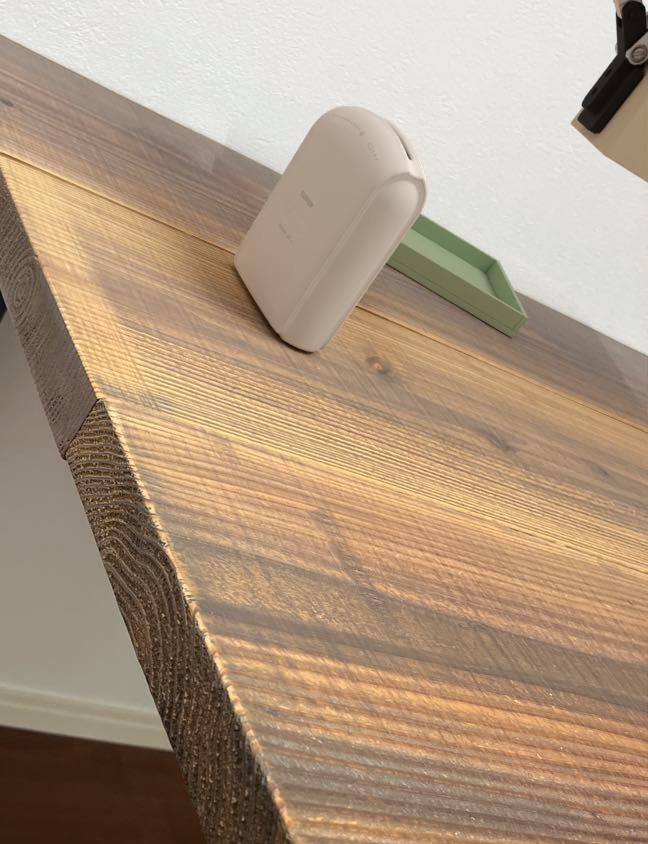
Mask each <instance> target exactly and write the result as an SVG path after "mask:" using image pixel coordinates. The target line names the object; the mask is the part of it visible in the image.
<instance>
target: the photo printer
mask: <svg viewBox="0 0 648 844" xmlns="http://www.w3.org/2000/svg"><path fill="white" fill-rule="evenodd" d="M427 198H428V182H427V177H426V173H425V169H424V167H423V163H422V160H421V159H420V157H419V154H418V152H417V150H416V149H415V146H414V145H413V144H412V142H411V141H410V139H409V137H408V136H407V135H406V134H405V133H404V131H403V130H401V128H400V127H398V126H397V125H396V124H395V123H393V122H392V121H391V120H389V119H387V118H386V117H383V116H381V115H378V114H377V113H376V112H374V111H372V110H369V109H367V108H365V107H361V106H355V105H340V106H336V107H334V108H331V109H329V110H327V111H326V112H325V113H323V114H322V115H320V116H319V118H318V119H316V121H314V123H313V124H312V126H311V127H310V129H309V130H308V132H307V133H306V135H305V137H304V139H303V140H302V142H301V143H300V145H299V147H298V148H297V150H296V151H295V153H294V155H293V156H292V158H291V160H290V161H289V163H288V164H287V166H286V167H285V169H284V171H283V172H282V175H281V176H280V178H279V179H278V181H277V183H275V186H274V188H273V189H272V191H271V193H270V194H269V196H268V198H267V199H266V201H265V202H264V204H263V206H262V207H261V209H260V211H259V213H258V214H257V216H256V218H255V219H254V221H253V222H252V224H251V226H250V227H249V229H248V231H247V232H246V234H245V236H244V237H243V238H242V241H241V243H240V244H239V246H238V248H237V250H236V252H235V254H234V256H233V264H234V267H235V269H236V271H237V273H238V274H239V277H240V278H241V280H242V282H243V283H244V285H245V287H246V288H247V290H248V292H249V294H250V295H251V297H252V298H253V300H254V301H255V303H256V305H257V307H258V308H259V310H260V311H261V312H262V314H263V316H264V317H265V319H266V320H267V321H268V323H269V325H270V326H271V327H272V329H273V330H274V331H275V333H276V334H278V335H279V337H280V338H281V340H282V341H284V342H286V343H287V344H289V345H291V346H293V347H295V348H297V349H299V350H302V351H305V352H308V353H309V352H311V353H315V352H317V351H318V350H321V351H322V350H325V349H326V348H327V347H328V345H329V344H330V343H331V342H332V341H333V339H334V338H335V337H336V335H337V334H338V333H339V331H340V330H341V328H342V327H343V326H344V324H345V322H346V321H347V319H348V318H349V317H350V315H351V313H352V312H353V311H354V309H355V308H356V306H357V305H358V304H359V302H360V300H361V299H362V298H363V296H364V295H365V294H366V292H367V291H368V290H369V288H370V287H371V285H372V284H373V282H374V281H375V280H376V278H377V277H378V275H379V274H380V273H381V270H382V269H383V268H384V267H385V265H387V264H386V262H387V261H388V259H389V258H390V257H391V255H392V254H393V252H394V251H395V249H396V248H397V247H398V245H399V244H400V242H401V241H402V239H403V238H404V237H405V235H406V234H407V232H408V231H409V229H410V228H411V227H412V225H413V224H414V222H415V221H416V220H417V218H418V217H419V215H420V213H421V214H422V212H423V209H424V208H425V205H426V201H427Z"/></svg>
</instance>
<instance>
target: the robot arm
mask: <svg viewBox="0 0 648 844" xmlns="http://www.w3.org/2000/svg"><path fill="white" fill-rule="evenodd" d="M643 2H644V1H643V0H612V3H613V4H614V8H615V29H616V30H615V31H616V43H615V45H614V52H615V54H616V55H615V56H614V58H613V59H612V60H611V62H610V63H609V64H608V66H607V67H606V69H605V70H604V71H603V72H602V74H601V75H600V76H599V78H598V79H597V80H596V81H595V83H594V84H593V85H592V87H591V88H590V89H589V91H588V92H587V93H586V95H585V96H584V98H583V99H582V101H581V103H580V104H581V108H582V107H583V108H584V109H583V111H582V112H581V113H580V115H579V116H578V119H577V120H578V121H579V122H580V123H581V124H582V125H583V126H584V127H585V128H586V129H587V130H589V131H590V132H592V133H594V134H596V133H600V132H601V131H602V130H603V129H604V128H605V126H606V125H607V124H608V123H609V121H610V120H611V119H612V117H613V116H614V115H615V114H616V112H617V111H618V110H619V108H620V107H621V106H622V105H623V103H624V102H625V101H626V99H627V98H628V97H629V96H630V94H631V93H632V92H633V90H634V89H635V88H636V87H637V85H638V84H639V83H640V81H641V80H642V79H643V77H644V73H645V72H643V71H642V70H641V69H642V68H643V67H644V65H645V64H646V63H647V61H648V11H647V9H646V6H645V4H644V3H643Z"/></svg>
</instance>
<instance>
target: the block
mask: <svg viewBox="0 0 648 844" xmlns="http://www.w3.org/2000/svg"><path fill="white" fill-rule="evenodd" d="M641 70H642V71H643V72H645V73H644V77H643V79H642V80H641V81H640V83H639V84H638V85H637V87H636V88H635V89H634V90H633V92H632V93H631V94H630V96H629V97H628V98H627V99H626V101H625V102H624V103H623V105H622V106H621V107H620V108H619V110H618V111H617V112H616V114H615V115H614V116H613V117H612V119H611V120H610V121H609V123H608V124H607V125H606V126H605V128H604V129H603V130H602V131H601V132H600V133H596V134H594V133H592V132H590V131H589V130H587V129H586V128H585V127H584V126H583V125H582V124H581V123H580V122H579V121H578V120H577V119H578V116H579V115H580V113H581V112H582V111H583V109H584V108H583V107H582V106H581V108H580V110H579V111H578V113H576V115H575V116H574V117H573V119H572V120H571V121H570V125H571V126H572V127H573V128H574V129H576V131H578V133H579V134H581V136H582V137H584V138H585V139H586V140H587V141H588V142H589V143H590V144H591V145H593V147H594V148H595V149H596V150H598V152H600V153H601V154H602V155H603V156H604V157H606V158H608V159H609V160H611V161H613V162H614V163H616V164H617V165H619V166H620V167H622V168H624V169H625V170H627V171H628V172H630V173H631V174H633V175H635V176H636V177H638V178H639V179H641V180H643V181H645V182H646V183H647V184H648V61H647V63H646V64H645V65H644V67H643V68H642V69H641Z"/></svg>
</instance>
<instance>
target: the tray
mask: <svg viewBox="0 0 648 844" xmlns="http://www.w3.org/2000/svg"><path fill="white" fill-rule="evenodd" d="M385 265H388V266H390V267H391V268H393V269H395V270H396V271H398V272H399V273H402V274H403V275H405V277H408V278H410V279H411V280H413V281H415V282H416V283H418V284H419V285H421V286H423V287H424V288H426V289H428V290H430V291H431V292H433V293H435V294H436V295H439V296H440V297H441V298H444V299H445V300H446V301H448V302H450V303H452V304H454V305H455V306H457V307H459V308H460V309H462V310H463V311H465V312H467V313H469V314H470V315H472V316H473V317H476V318H477V319H479V320H480V321H482V322H484V323H486V324H487V325H489V326H491V327H493V328H494V329H496V330H498V331H499V332H500V333H503V334H504V335H506V336H507V337H509V338H511V339H513V338H514V337H515V336H516V335H517V333H518V332H519V331H520V330H521V329H522V327H524V325H525V324H526V323H527V322H528V320H529V319H530V318H529V316H528V314H527V312H526V310H525V309H524V307H523V304H522V302H521V300H520V298H519V297H518V295H517V292H516V291H515V289H514V287H513V285H512V282H511V280H510V279H509V277H508V275H507V273H506V271H505V270H504V267H503V265H502V263H501V261H500V260H498V259H497V258H495V257H493V256H492V255H490V254H489V253H487V252H485V251H484V250H482V249H481V248H478V247H477V246H476V245H474V244H472V243H470V241H469V242H468V241H467V240H466V239H464V238H462V237H461V236H459V235H458V234H456V233H454V232H452V231H451V230H449V229H448V228H446V227H444V226H442V225H441V224H439V223H438V222H436V221H434V220H433V219H431V218H429V216H426V215H425V214H422V212H421V213H420V215H419V217H418V218H417V220H416V221H415V222H414V224H413V225H412V227H411V228H410V229H409V231H408V232H407V234H406V235H405V237H404V238H403V239H402V241H401V242H400V244H399V245H398V247H397V248H396V249H395V251H394V252H393V254H392V255H391V257H390V258H389V259H388V261H387V262H386V264H385Z"/></svg>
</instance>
